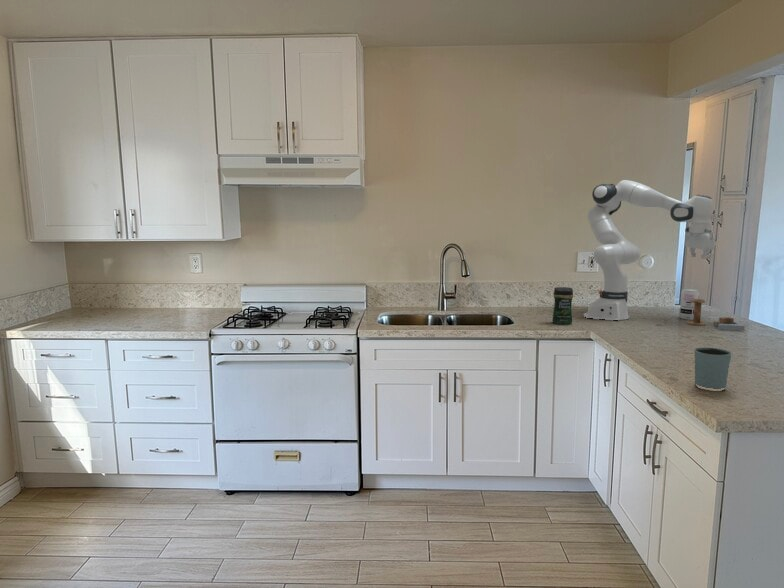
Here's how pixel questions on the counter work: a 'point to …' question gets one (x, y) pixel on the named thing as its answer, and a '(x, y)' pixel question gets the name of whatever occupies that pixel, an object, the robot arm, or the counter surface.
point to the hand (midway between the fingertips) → (698, 257)
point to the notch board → (730, 326)
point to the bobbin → (697, 312)
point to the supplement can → (688, 303)
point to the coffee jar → (562, 305)
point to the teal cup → (711, 367)
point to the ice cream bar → (725, 320)
